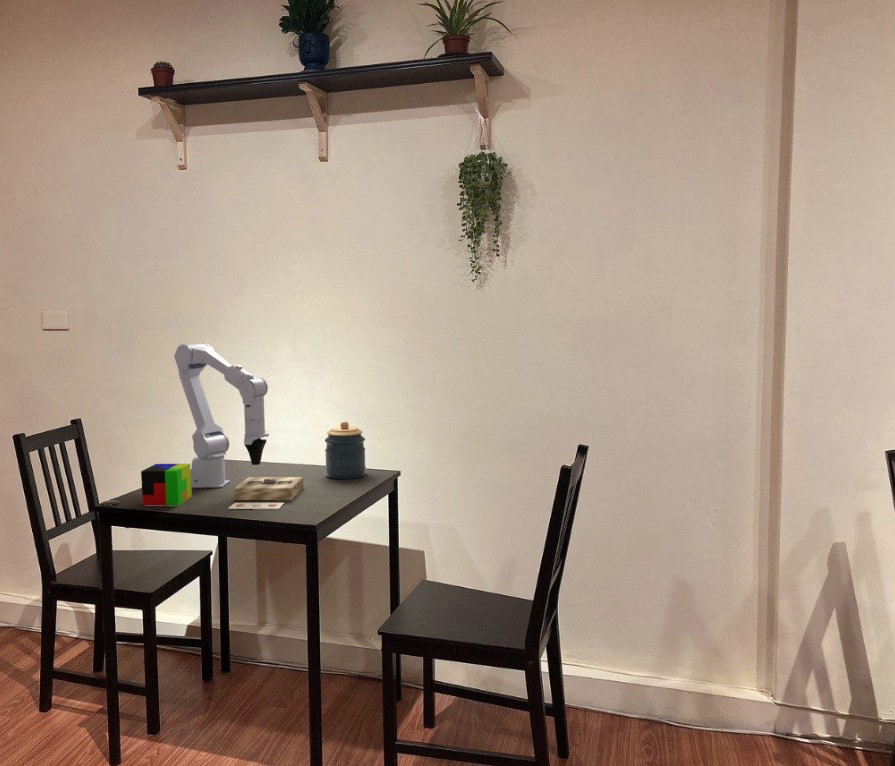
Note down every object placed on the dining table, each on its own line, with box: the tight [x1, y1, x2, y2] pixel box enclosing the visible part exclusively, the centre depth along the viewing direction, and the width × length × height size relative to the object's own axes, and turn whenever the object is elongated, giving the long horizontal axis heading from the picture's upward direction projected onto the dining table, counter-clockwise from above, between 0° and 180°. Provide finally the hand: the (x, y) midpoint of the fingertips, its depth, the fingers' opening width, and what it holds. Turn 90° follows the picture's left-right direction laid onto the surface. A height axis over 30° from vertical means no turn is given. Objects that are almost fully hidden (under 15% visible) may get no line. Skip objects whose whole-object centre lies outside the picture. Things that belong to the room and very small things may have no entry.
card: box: [227, 502, 285, 510], centre depth 208 cm, size 14×6×1 cm, turn 88°
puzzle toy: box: [140, 463, 193, 506], centre depth 214 cm, size 10×10×10 cm
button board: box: [233, 476, 304, 501], centre depth 221 cm, size 16×14×4 cm
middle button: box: [264, 478, 275, 484], centre depth 221 cm, size 3×3×2 cm
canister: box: [324, 420, 367, 480], centre depth 245 cm, size 13×13×18 cm
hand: (256, 464), depth 225 cm, fingers closed
